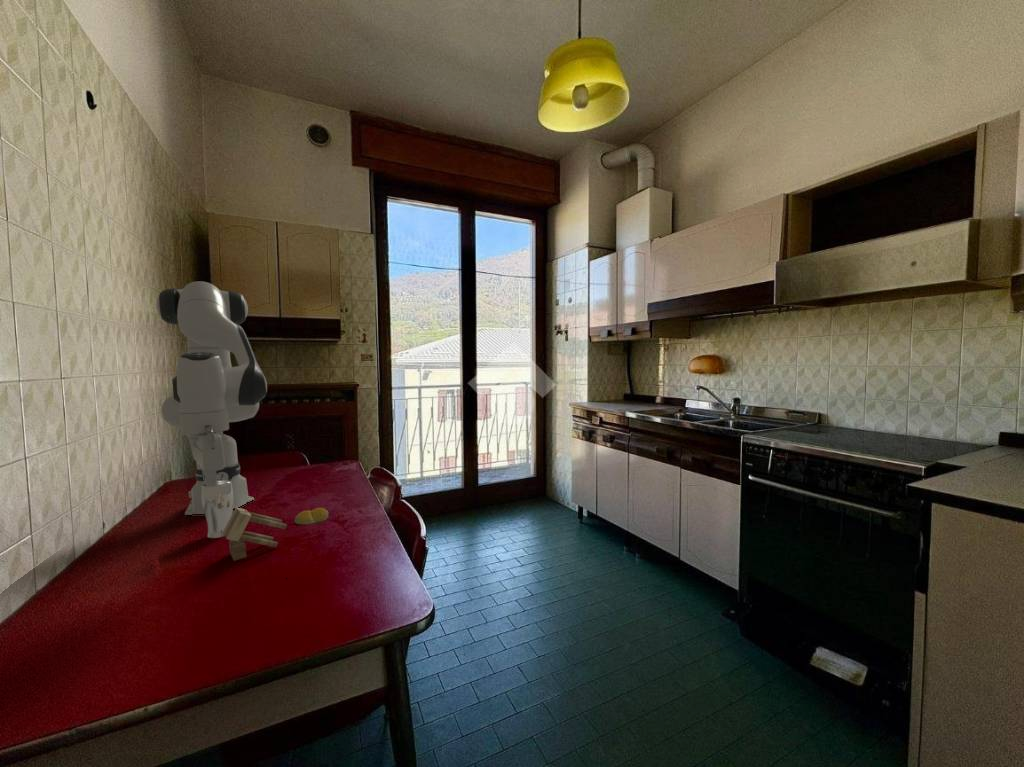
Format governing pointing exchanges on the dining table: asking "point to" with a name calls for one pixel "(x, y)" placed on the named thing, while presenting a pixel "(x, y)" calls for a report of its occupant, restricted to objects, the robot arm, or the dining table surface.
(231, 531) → the stool
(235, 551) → the prop block
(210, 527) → the beer glass
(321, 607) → the dining table surface
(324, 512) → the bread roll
